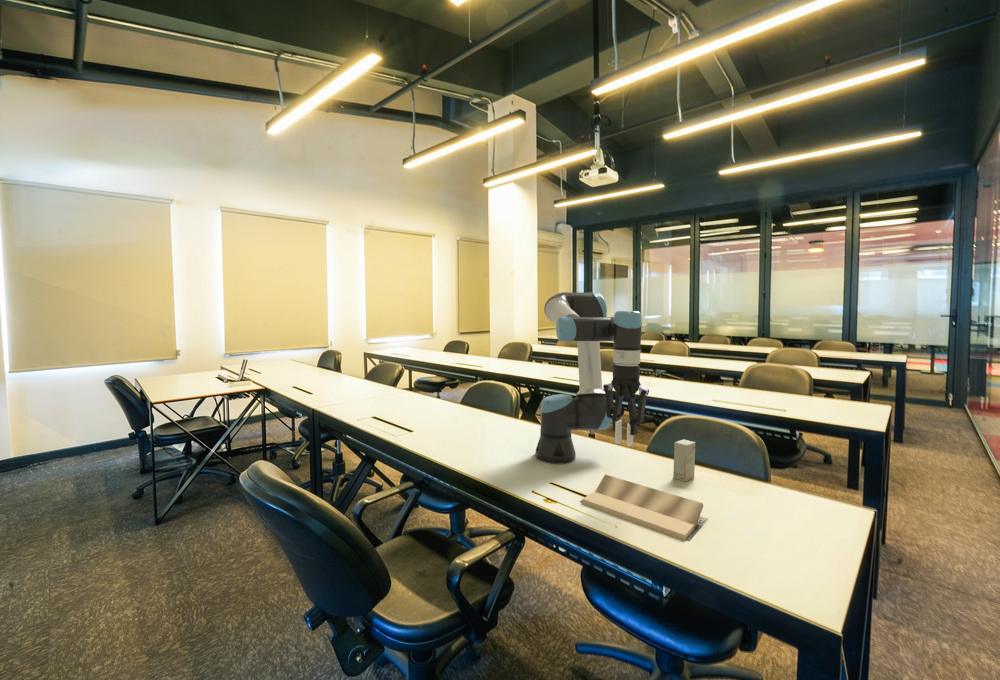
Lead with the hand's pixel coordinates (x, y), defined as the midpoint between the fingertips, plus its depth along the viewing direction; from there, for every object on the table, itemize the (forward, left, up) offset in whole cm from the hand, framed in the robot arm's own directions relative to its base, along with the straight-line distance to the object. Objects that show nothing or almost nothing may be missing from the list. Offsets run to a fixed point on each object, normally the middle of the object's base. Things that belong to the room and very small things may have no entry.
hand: (623, 443), depth 122 cm
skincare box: (+8, +29, -17) cm, 35 cm away
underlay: (+8, -5, -17) cm, 19 cm away
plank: (+8, -2, -14) cm, 16 cm away
